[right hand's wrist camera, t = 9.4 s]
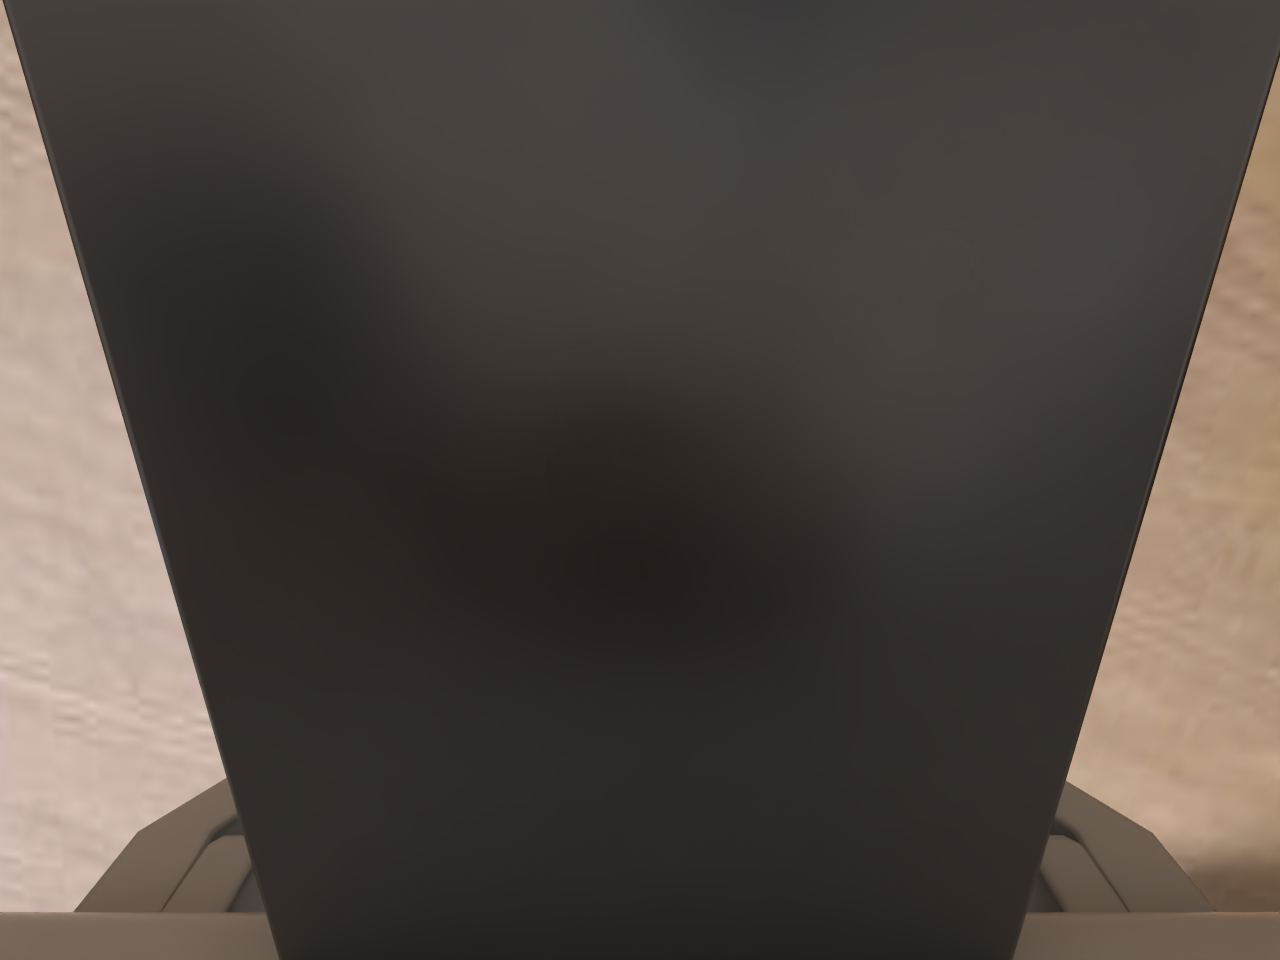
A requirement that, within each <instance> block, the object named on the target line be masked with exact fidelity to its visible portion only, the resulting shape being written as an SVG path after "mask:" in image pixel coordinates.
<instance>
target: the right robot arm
mask: <svg viewBox="0 0 1280 960" xmlns="http://www.w3.org/2000/svg"><path fill="white" fill-rule="evenodd" d="M0 960H279V957H278V953H277V950H276V946H275V943H274V939H273V936H272V932H271V929H270V926H269V922H268V919H267V915H266V912H265V908H264V905H263V901H262V898H261V894H260V891H259V887H258V884H257V880H256V877H255V874H254V870H253V867H252V863H251V860H250V856H249V853H248V849H247V846H246V842H245V839H244V835H243V832H242V828H241V825H240V822H239V818H238V815H237V811H236V808H235V804H234V801H233V797H232V794H231V790H230V787H229V783H228V780H227V778H226V779H224V780H222V781H221V782H219V783H218V784H216V785H214V786H213V787H211V788H209V789H208V790H206V791H204V792H203V793H201V794H199V795H198V796H196V797H195V798H193V799H191V800H190V801H188V802H186V803H185V804H183V805H181V806H180V807H178V808H176V809H175V810H173V811H172V812H170V813H168V814H167V815H165V816H163V817H162V818H160V819H158V820H157V821H155V822H153V823H152V824H150V825H148V826H147V827H145V828H144V829H142V830H140V831H139V832H137V834H136V835H135V836H134V837H133V839H132V840H131V841H130V842H129V844H128V845H127V846H126V847H125V849H124V850H123V851H122V852H121V853H120V855H119V856H118V857H117V858H116V860H115V861H114V862H113V863H112V865H111V866H110V867H109V868H108V870H107V871H106V872H105V873H104V875H103V876H102V877H101V878H100V880H99V881H98V882H97V883H96V884H95V886H94V887H93V888H92V889H91V891H90V892H89V893H88V894H87V896H86V897H85V898H84V899H83V901H82V902H81V903H80V904H79V906H78V907H77V908H76V909H75V911H74V912H0ZM1013 960H1280V912H1216V910H1215V909H1214V908H1213V907H1212V905H1211V904H1210V903H1209V902H1208V900H1207V899H1206V898H1205V897H1204V896H1203V894H1202V893H1201V892H1200V891H1199V889H1198V888H1197V887H1196V886H1195V885H1194V883H1193V882H1192V881H1191V880H1190V878H1189V877H1188V876H1187V875H1186V873H1185V872H1184V871H1183V870H1182V869H1181V867H1180V866H1179V865H1178V864H1177V862H1176V861H1175V860H1174V859H1173V858H1172V856H1171V855H1170V854H1169V853H1168V851H1167V850H1166V849H1165V848H1164V846H1163V845H1162V844H1161V843H1160V842H1159V840H1158V839H1157V838H1156V837H1155V835H1154V834H1153V833H1152V832H1150V831H1148V830H1147V829H1145V828H1143V827H1142V826H1140V825H1138V824H1137V823H1135V822H1133V821H1132V820H1130V819H1128V818H1127V817H1125V816H1123V815H1122V814H1120V813H1118V812H1117V811H1115V810H1114V809H1112V808H1110V807H1109V806H1107V805H1105V804H1104V803H1102V802H1100V801H1099V800H1097V799H1095V798H1094V797H1092V796H1090V795H1089V794H1087V793H1085V792H1084V791H1082V790H1080V789H1079V788H1077V787H1075V786H1074V785H1072V784H1070V783H1069V782H1067V781H1065V784H1064V788H1063V791H1062V794H1061V798H1060V801H1059V804H1058V808H1057V811H1056V815H1055V818H1054V821H1053V825H1052V828H1051V831H1050V835H1049V838H1048V842H1047V845H1046V848H1045V852H1044V855H1043V858H1042V862H1041V865H1040V869H1039V872H1038V875H1037V879H1036V882H1035V886H1034V889H1033V892H1032V896H1031V899H1030V902H1029V906H1028V909H1027V913H1026V916H1025V919H1024V923H1023V926H1022V929H1021V933H1020V936H1019V940H1018V943H1017V946H1016V950H1015V953H1014V956H1013Z"/></svg>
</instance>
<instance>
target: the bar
mask: <svg viewBox="0 0 1280 960" xmlns="http://www.w3.org/2000/svg"><path fill="white" fill-rule="evenodd" d="M3 3H4V7H5V10H6V14H7V17H8V21H9V24H10V28H11V31H12V34H13V38H14V41H15V45H16V48H17V52H18V55H19V59H20V62H21V66H22V69H23V73H24V76H25V80H26V83H27V86H28V90H29V93H30V97H31V100H32V104H33V107H34V111H35V114H36V118H37V121H38V125H39V128H40V132H41V135H42V139H43V142H44V145H45V149H46V152H47V156H48V159H49V163H50V166H51V170H52V173H53V177H54V180H55V184H56V187H57V191H58V194H59V197H60V201H61V204H62V208H63V211H64V215H65V218H66V222H67V225H68V229H69V232H70V236H71V239H72V243H73V246H74V249H75V253H76V256H77V260H78V263H79V267H80V270H81V274H82V277H83V281H84V284H85V288H86V291H87V295H88V298H89V301H90V305H91V308H92V312H93V315H94V319H95V322H96V326H97V329H98V333H99V336H100V340H101V343H102V347H103V350H104V353H105V357H106V360H107V364H108V367H109V371H110V374H111V378H112V381H113V385H114V388H115V392H116V395H117V399H118V402H119V405H120V409H121V412H122V416H123V419H124V423H125V426H126V430H127V433H128V437H129V440H130V444H131V447H132V451H133V454H134V457H135V461H136V464H137V468H138V471H139V475H140V478H141V482H142V485H143V489H144V492H145V496H146V499H147V503H148V506H149V509H150V513H151V516H152V520H153V523H154V527H155V530H156V534H157V537H158V541H159V544H160V548H161V551H162V555H163V558H164V561H165V565H166V568H167V572H168V575H169V579H170V582H171V586H172V589H173V593H174V596H175V600H176V603H177V607H178V610H179V614H180V617H181V620H182V624H183V627H184V631H185V634H186V638H187V641H188V645H189V648H190V652H191V655H192V659H193V662H194V666H195V669H196V672H197V676H198V679H199V683H200V686H201V690H202V693H203V697H204V700H205V704H206V707H207V711H208V714H209V718H210V721H211V724H212V728H213V731H214V735H215V738H216V742H217V745H218V749H219V752H220V756H221V759H222V763H223V766H224V770H225V773H226V776H227V780H228V783H229V787H230V790H231V794H232V797H233V801H234V804H235V808H236V811H237V815H238V818H239V822H240V825H241V828H242V832H243V835H244V839H245V842H246V846H247V849H248V853H249V856H250V860H251V863H252V867H253V870H254V874H255V877H256V880H257V884H258V887H259V891H260V894H261V898H262V901H263V905H264V908H265V912H266V915H267V919H268V922H269V926H270V929H271V932H272V936H273V939H274V943H275V946H276V950H277V953H278V957H279V960H1013V956H1014V953H1015V950H1016V946H1017V943H1018V940H1019V936H1020V933H1021V929H1022V926H1023V923H1024V919H1025V916H1026V913H1027V909H1028V906H1029V902H1030V899H1031V896H1032V892H1033V889H1034V886H1035V882H1036V879H1037V875H1038V872H1039V869H1040V865H1041V862H1042V858H1043V855H1044V852H1045V848H1046V845H1047V842H1048V838H1049V835H1050V831H1051V828H1052V825H1053V821H1054V818H1055V815H1056V811H1057V808H1058V804H1059V801H1060V798H1061V794H1062V791H1063V788H1064V784H1065V781H1066V777H1067V774H1068V771H1069V767H1070V764H1071V761H1072V757H1073V754H1074V750H1075V747H1076V744H1077V740H1078V737H1079V733H1080V730H1081V727H1082V723H1083V720H1084V717H1085V713H1086V710H1087V706H1088V703H1089V700H1090V696H1091V693H1092V690H1093V686H1094V683H1095V679H1096V676H1097V673H1098V669H1099V666H1100V663H1101V659H1102V656H1103V652H1104V649H1105V646H1106V642H1107V639H1108V636H1109V632H1110V629H1111V625H1112V622H1113V619H1114V615H1115V612H1116V608H1117V605H1118V602H1119V598H1120V595H1121V592H1122V588H1123V585H1124V581H1125V578H1126V575H1127V571H1128V568H1129V565H1130V561H1131V558H1132V554H1133V551H1134V548H1135V544H1136V541H1137V538H1138V534H1139V531H1140V527H1141V524H1142V521H1143V517H1144V514H1145V511H1146V507H1147V504H1148V500H1149V497H1150V494H1151V490H1152V487H1153V484H1154V480H1155V477H1156V473H1157V470H1158V467H1159V463H1160V460H1161V456H1162V453H1163V450H1164V446H1165V443H1166V440H1167V436H1168V433H1169V429H1170V426H1171V423H1172V419H1173V416H1174V413H1175V409H1176V406H1177V402H1178V399H1179V396H1180V392H1181V389H1182V386H1183V382H1184V379H1185V375H1186V372H1187V369H1188V365H1189V362H1190V359H1191V355H1192V352H1193V348H1194V345H1195V342H1196V338H1197V335H1198V331H1199V328H1200V325H1201V321H1202V318H1203V315H1204V311H1205V308H1206V304H1207V301H1208V298H1209V294H1210V291H1211V288H1212V284H1213V281H1214V277H1215V274H1216V271H1217V267H1218V264H1219V261H1220V257H1221V254H1222V250H1223V247H1224V244H1225V240H1226V237H1227V234H1228V230H1229V227H1230V223H1231V220H1232V217H1233V213H1234V210H1235V206H1236V203H1237V200H1238V196H1239V193H1240V190H1241V186H1242V183H1243V179H1244V176H1245V173H1246V169H1247V166H1248V163H1249V159H1250V156H1251V152H1252V149H1253V146H1254V142H1255V139H1256V136H1257V132H1258V129H1259V125H1260V122H1261V119H1262V115H1263V112H1264V109H1265V105H1266V102H1267V98H1268V95H1269V92H1270V88H1271V85H1272V81H1273V78H1274V75H1275V71H1276V68H1277V65H1278V61H1279V58H1280V0H3Z"/></svg>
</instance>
